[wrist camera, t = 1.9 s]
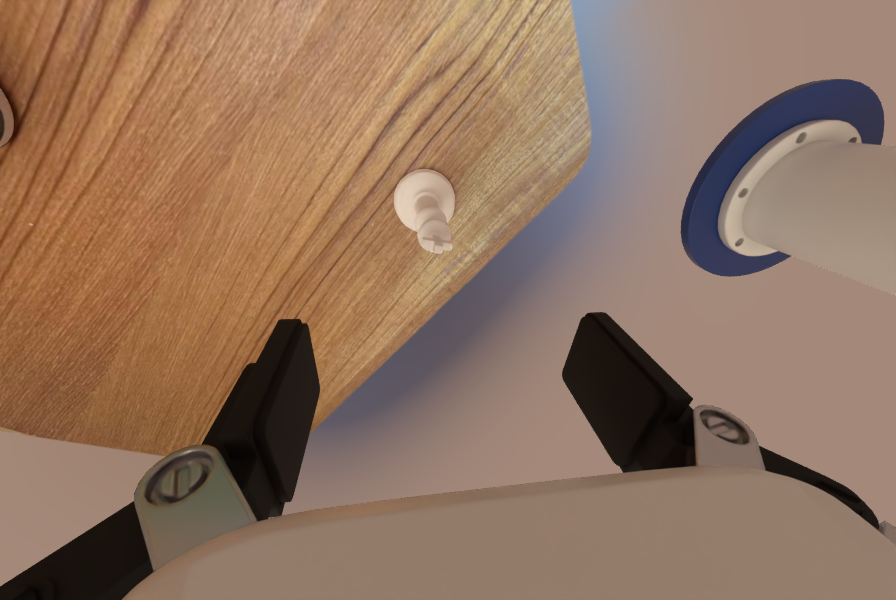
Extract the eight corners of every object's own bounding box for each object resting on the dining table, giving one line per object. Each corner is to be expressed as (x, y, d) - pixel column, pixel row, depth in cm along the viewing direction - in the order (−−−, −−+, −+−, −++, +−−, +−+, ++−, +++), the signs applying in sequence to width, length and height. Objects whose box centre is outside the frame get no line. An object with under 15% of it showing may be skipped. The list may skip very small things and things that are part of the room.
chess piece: (448, 234, 27) (471, 293, 19) (390, 226, 26) (387, 284, 18) (460, 175, 25) (493, 211, 16) (397, 163, 24) (397, 195, 15)
